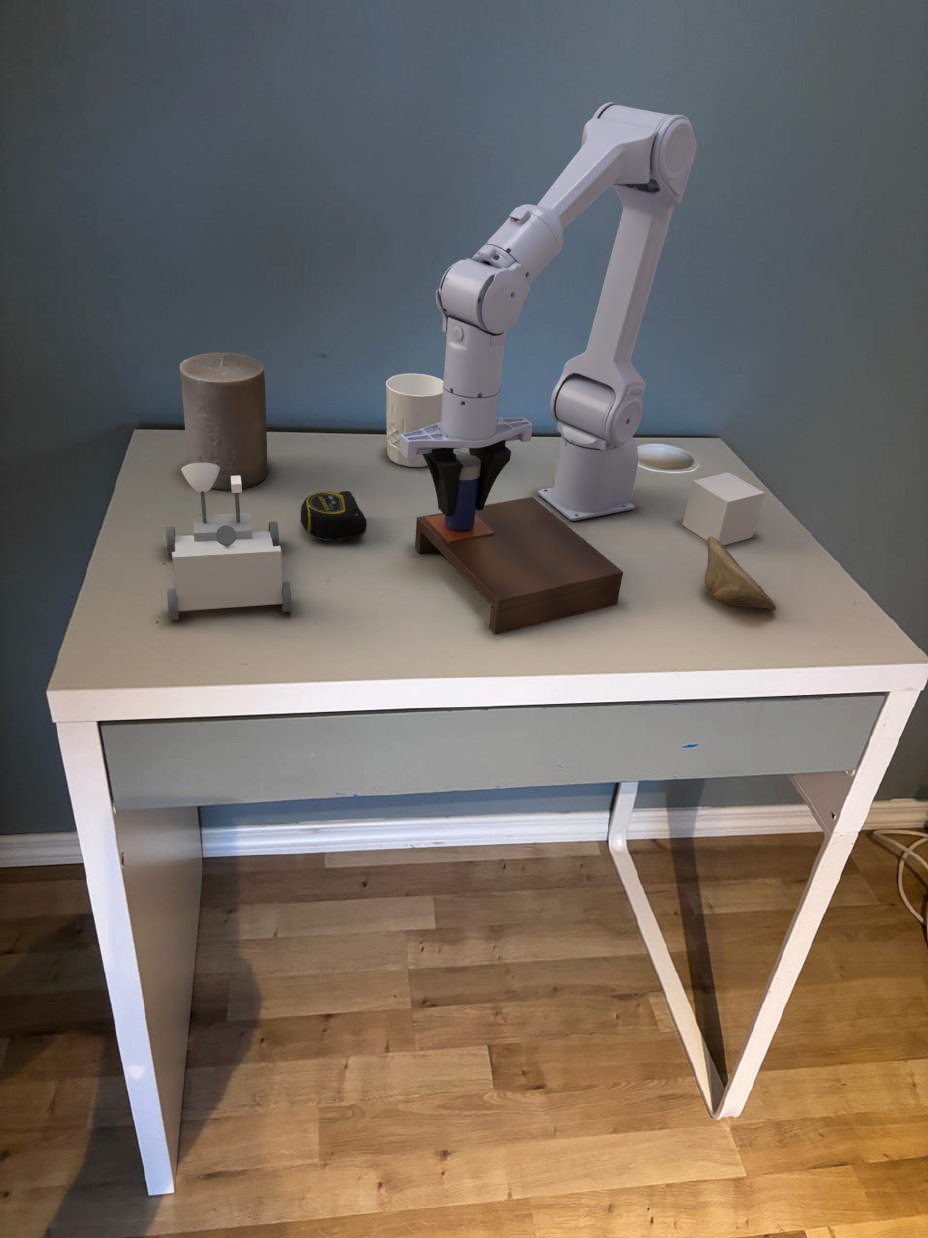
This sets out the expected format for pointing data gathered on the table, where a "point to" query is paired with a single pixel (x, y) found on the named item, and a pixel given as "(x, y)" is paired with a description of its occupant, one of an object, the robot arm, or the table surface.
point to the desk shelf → (524, 563)
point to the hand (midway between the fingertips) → (461, 509)
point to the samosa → (732, 580)
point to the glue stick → (465, 494)
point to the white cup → (411, 411)
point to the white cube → (723, 508)
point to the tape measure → (332, 516)
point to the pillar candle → (226, 415)
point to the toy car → (224, 556)
